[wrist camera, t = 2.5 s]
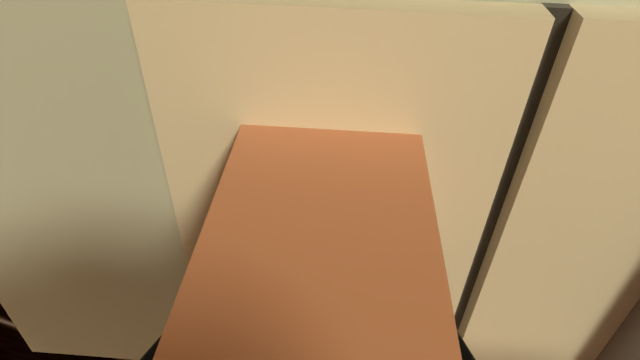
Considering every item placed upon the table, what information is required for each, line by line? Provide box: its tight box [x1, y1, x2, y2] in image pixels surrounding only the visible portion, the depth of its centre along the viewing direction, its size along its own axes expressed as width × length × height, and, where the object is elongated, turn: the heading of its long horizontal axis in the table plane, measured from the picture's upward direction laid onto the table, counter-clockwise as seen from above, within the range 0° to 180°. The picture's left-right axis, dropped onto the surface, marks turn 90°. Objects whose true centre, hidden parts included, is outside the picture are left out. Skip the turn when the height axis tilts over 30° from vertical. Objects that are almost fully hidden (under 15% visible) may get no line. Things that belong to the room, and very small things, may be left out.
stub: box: [126, 0, 555, 360], centre depth 8 cm, size 6×10×6 cm, turn 179°
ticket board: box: [0, 0, 640, 360], centre depth 10 cm, size 18×12×3 cm, turn 89°
